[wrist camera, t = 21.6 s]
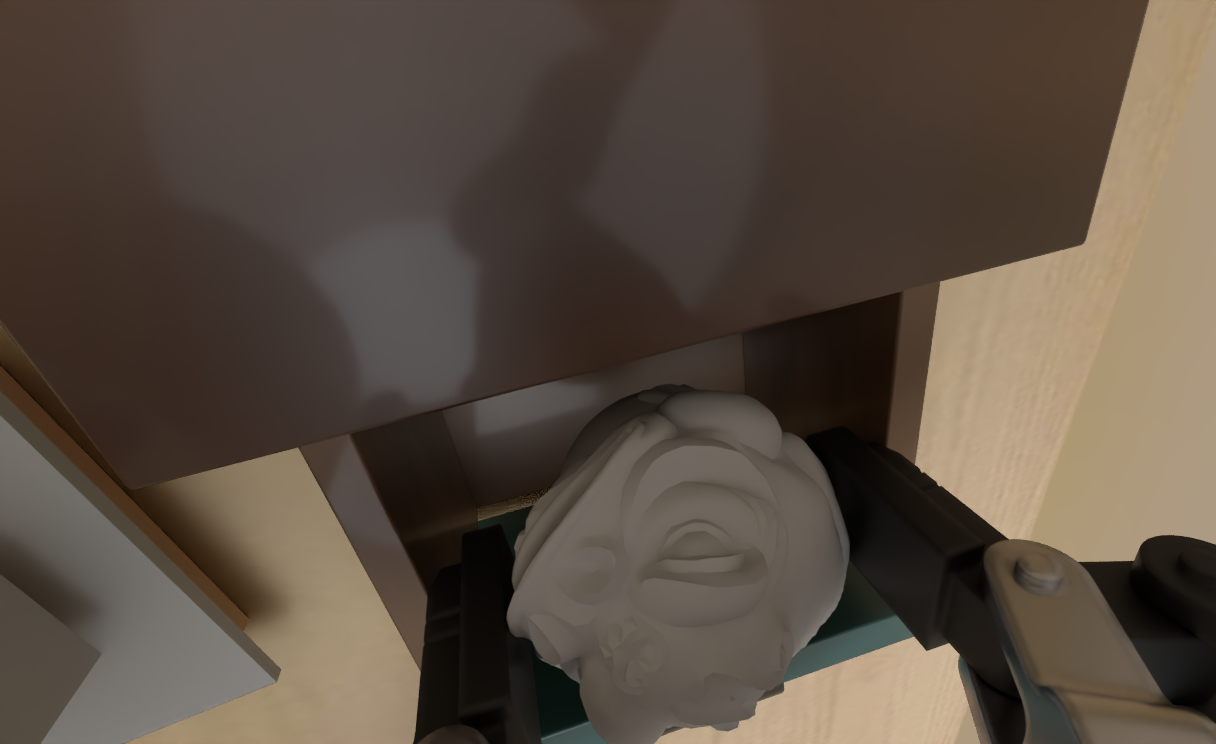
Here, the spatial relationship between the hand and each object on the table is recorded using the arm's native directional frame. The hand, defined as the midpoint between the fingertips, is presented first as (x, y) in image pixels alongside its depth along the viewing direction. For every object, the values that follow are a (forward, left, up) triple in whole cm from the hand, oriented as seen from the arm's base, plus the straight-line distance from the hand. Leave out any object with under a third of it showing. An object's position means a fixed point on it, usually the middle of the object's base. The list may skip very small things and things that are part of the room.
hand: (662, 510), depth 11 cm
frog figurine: (0, 0, -3) cm, 3 cm away
